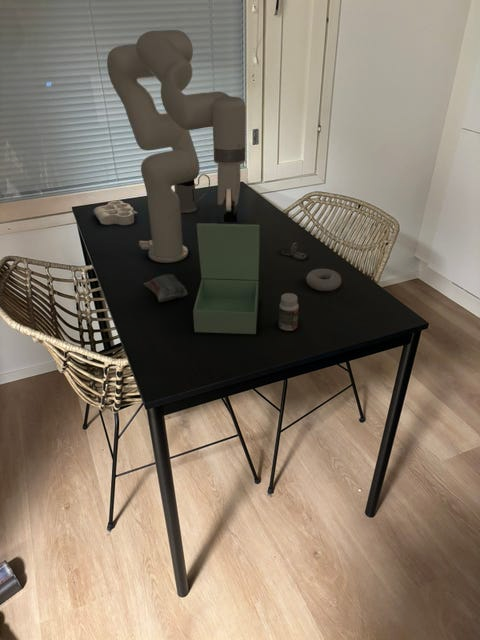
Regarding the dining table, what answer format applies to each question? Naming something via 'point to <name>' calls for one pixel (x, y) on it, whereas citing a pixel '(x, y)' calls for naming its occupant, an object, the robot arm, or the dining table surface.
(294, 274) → the dining table surface
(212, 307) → the box
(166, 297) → the packaged food
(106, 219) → the beige paint palette tray
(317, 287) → the donut
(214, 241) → the lunchbox lid
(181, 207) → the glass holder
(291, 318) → the pill bottle
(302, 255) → the strap clip
